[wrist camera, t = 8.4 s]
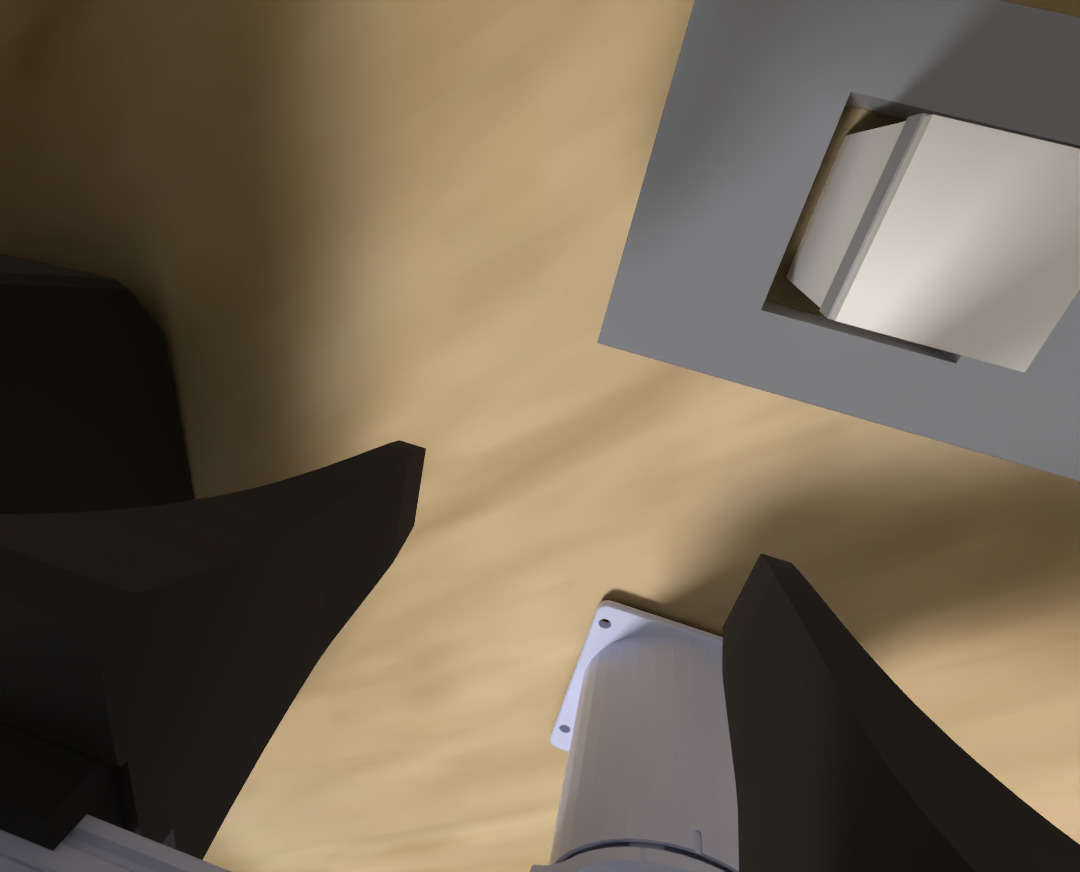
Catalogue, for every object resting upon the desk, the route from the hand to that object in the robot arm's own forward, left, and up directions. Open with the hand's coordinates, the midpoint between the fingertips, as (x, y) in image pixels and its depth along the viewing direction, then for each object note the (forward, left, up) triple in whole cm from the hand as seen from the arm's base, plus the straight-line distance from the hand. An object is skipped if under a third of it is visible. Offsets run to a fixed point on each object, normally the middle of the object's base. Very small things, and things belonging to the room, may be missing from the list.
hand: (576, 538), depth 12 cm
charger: (+7, -6, -10) cm, 13 cm away
